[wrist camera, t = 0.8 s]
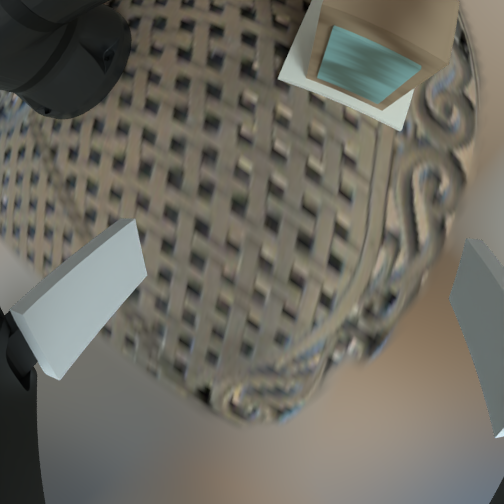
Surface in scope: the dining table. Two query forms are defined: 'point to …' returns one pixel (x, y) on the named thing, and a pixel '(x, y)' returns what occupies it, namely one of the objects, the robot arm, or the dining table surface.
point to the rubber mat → (296, 75)
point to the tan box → (381, 46)
